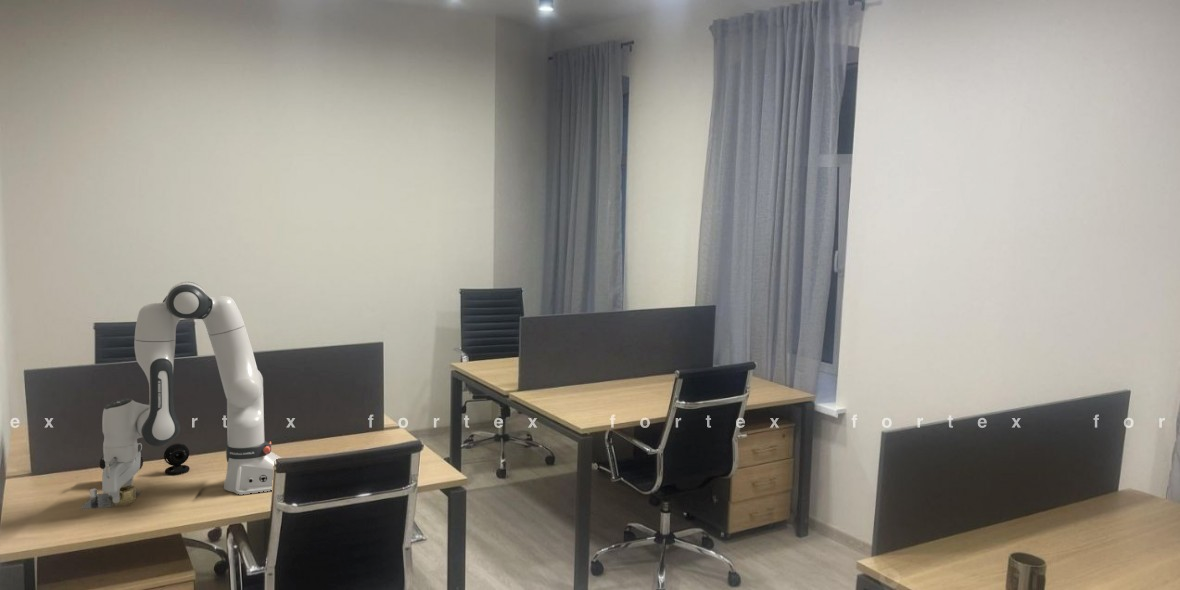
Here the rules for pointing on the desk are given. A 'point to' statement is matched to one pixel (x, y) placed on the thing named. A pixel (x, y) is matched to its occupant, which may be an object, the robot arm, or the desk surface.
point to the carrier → (100, 500)
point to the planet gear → (126, 495)
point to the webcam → (176, 459)
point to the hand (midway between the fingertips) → (122, 496)
